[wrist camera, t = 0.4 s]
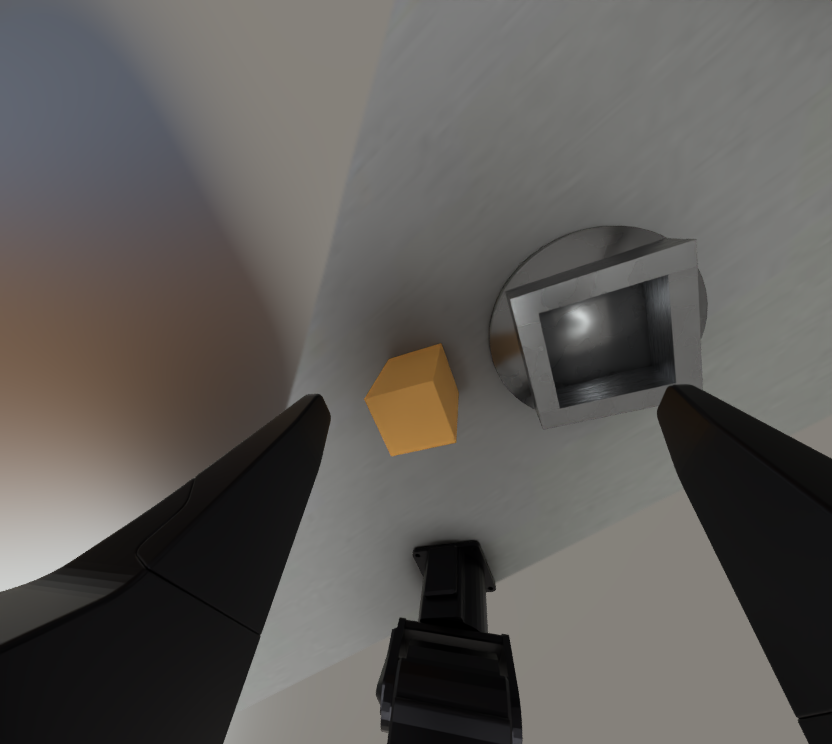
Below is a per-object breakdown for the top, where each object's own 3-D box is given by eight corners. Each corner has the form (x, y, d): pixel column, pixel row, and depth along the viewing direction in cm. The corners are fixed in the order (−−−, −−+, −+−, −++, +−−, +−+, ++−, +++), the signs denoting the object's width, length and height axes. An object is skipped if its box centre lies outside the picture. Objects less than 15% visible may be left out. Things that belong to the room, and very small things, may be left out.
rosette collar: (701, 389, 20) (742, 416, 17) (513, 429, 23) (520, 457, 20) (692, 189, 16) (744, 179, 13) (466, 270, 19) (466, 277, 16)
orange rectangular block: (458, 392, 23) (456, 442, 17) (408, 405, 24) (391, 456, 19) (441, 343, 22) (432, 380, 16) (388, 358, 23) (364, 399, 17)
